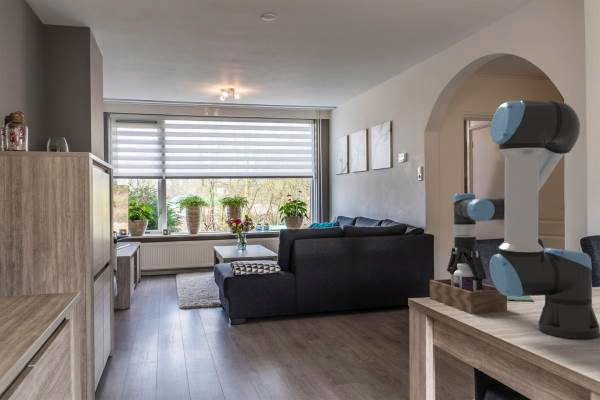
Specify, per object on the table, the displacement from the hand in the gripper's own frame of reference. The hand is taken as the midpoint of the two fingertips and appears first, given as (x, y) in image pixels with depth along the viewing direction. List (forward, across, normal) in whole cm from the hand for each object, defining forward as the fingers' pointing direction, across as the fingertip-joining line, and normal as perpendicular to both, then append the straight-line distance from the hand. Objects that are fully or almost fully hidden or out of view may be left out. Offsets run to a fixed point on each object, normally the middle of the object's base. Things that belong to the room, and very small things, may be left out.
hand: (466, 295), depth 173 cm
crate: (+3, 0, 0) cm, 3 cm away
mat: (+3, +5, -23) cm, 24 cm away
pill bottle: (+3, 0, 0) cm, 3 cm away
